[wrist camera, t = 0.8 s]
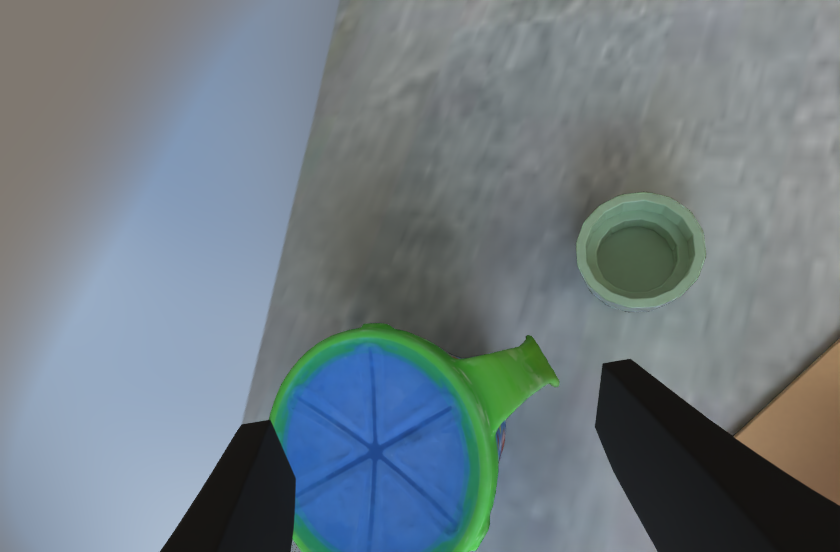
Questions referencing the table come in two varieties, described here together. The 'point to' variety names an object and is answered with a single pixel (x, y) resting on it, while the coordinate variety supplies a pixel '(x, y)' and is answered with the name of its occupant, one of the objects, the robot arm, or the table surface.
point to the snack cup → (398, 439)
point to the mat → (804, 427)
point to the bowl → (640, 251)
